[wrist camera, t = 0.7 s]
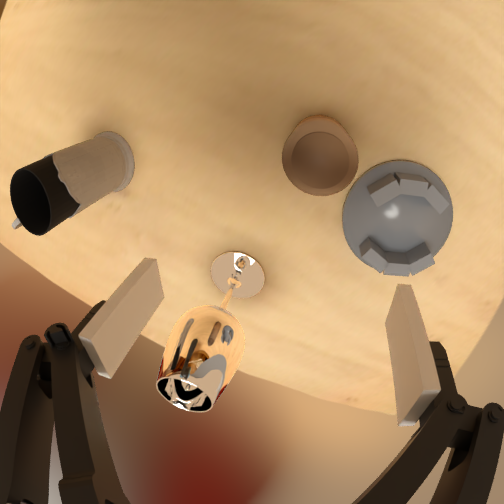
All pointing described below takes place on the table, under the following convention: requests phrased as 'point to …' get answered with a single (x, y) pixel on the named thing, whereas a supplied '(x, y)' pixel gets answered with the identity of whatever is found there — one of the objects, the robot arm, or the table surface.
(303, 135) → the stopper
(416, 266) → the grey round base
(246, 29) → the table surface
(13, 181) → the glass holder
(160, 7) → the table surface
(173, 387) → the wineglass
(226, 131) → the table surface
